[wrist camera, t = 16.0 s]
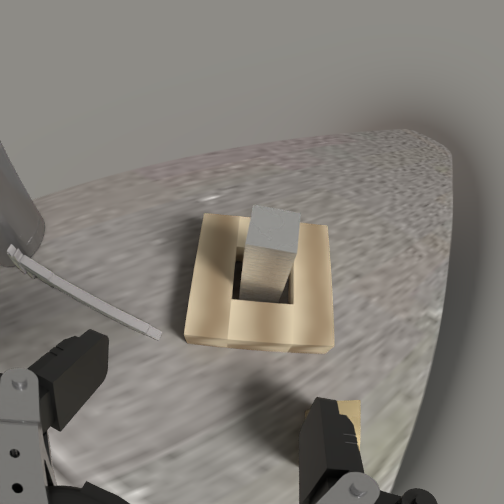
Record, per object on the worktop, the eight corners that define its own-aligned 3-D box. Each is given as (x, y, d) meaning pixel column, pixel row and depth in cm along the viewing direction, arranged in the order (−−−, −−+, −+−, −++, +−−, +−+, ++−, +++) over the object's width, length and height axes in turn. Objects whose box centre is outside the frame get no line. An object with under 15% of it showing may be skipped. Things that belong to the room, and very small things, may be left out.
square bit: (238, 301, 34) (245, 243, 25) (244, 269, 36) (253, 204, 27) (275, 308, 34) (297, 253, 25) (280, 275, 36) (300, 213, 27)
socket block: (187, 343, 31) (183, 334, 29) (205, 229, 39) (204, 213, 36) (325, 353, 32) (334, 345, 29) (320, 240, 39) (327, 225, 37)
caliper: (23, 274, 33) (-1, 247, 28) (27, 267, 34) (4, 240, 29) (159, 341, 31) (145, 320, 26) (163, 332, 32) (151, 309, 26)
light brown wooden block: (302, 468, 25) (332, 480, 18) (305, 410, 28) (334, 400, 21) (323, 468, 25) (358, 477, 18) (325, 410, 28) (360, 400, 21)
